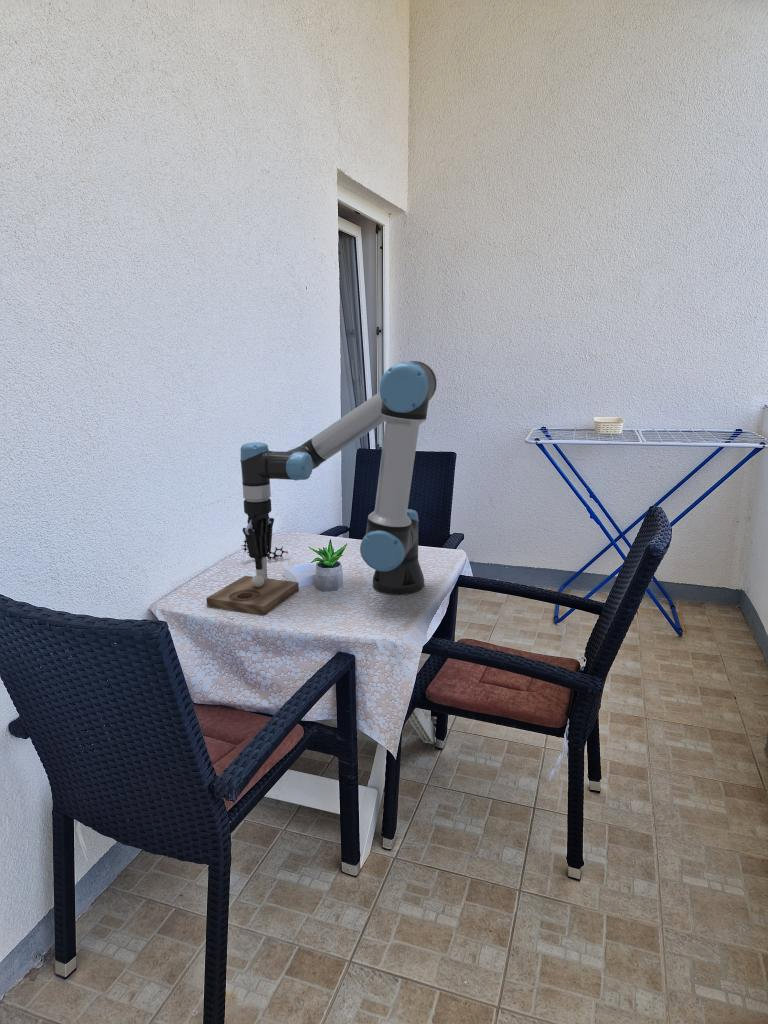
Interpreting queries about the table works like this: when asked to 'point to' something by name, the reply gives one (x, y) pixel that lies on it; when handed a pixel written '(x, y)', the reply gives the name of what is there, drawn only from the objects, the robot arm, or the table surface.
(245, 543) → the molecular model
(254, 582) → the ball
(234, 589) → the wooden board
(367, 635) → the table surface
